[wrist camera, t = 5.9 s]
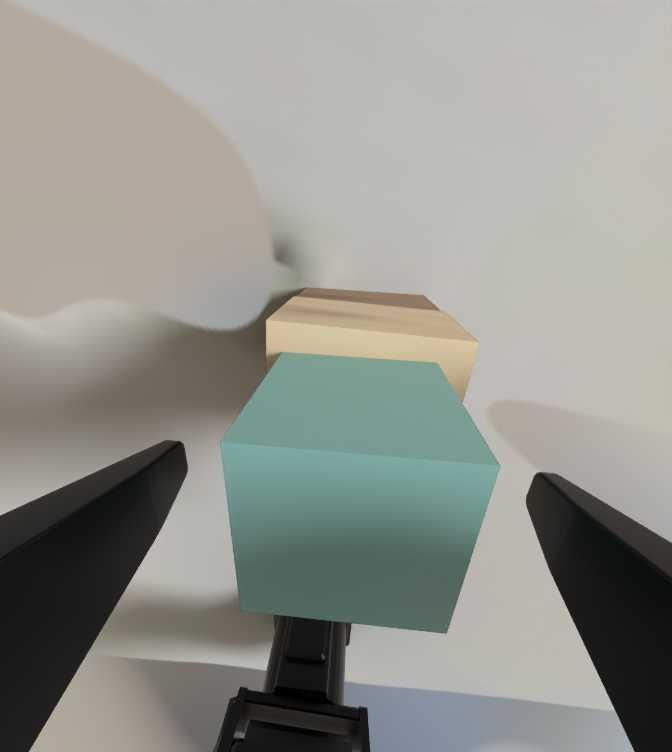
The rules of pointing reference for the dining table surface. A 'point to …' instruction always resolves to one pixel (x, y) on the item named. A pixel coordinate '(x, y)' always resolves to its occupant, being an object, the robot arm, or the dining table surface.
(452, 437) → the teal cube
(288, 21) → the dining table surface
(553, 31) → the dining table surface
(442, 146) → the dining table surface
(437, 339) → the tower top
